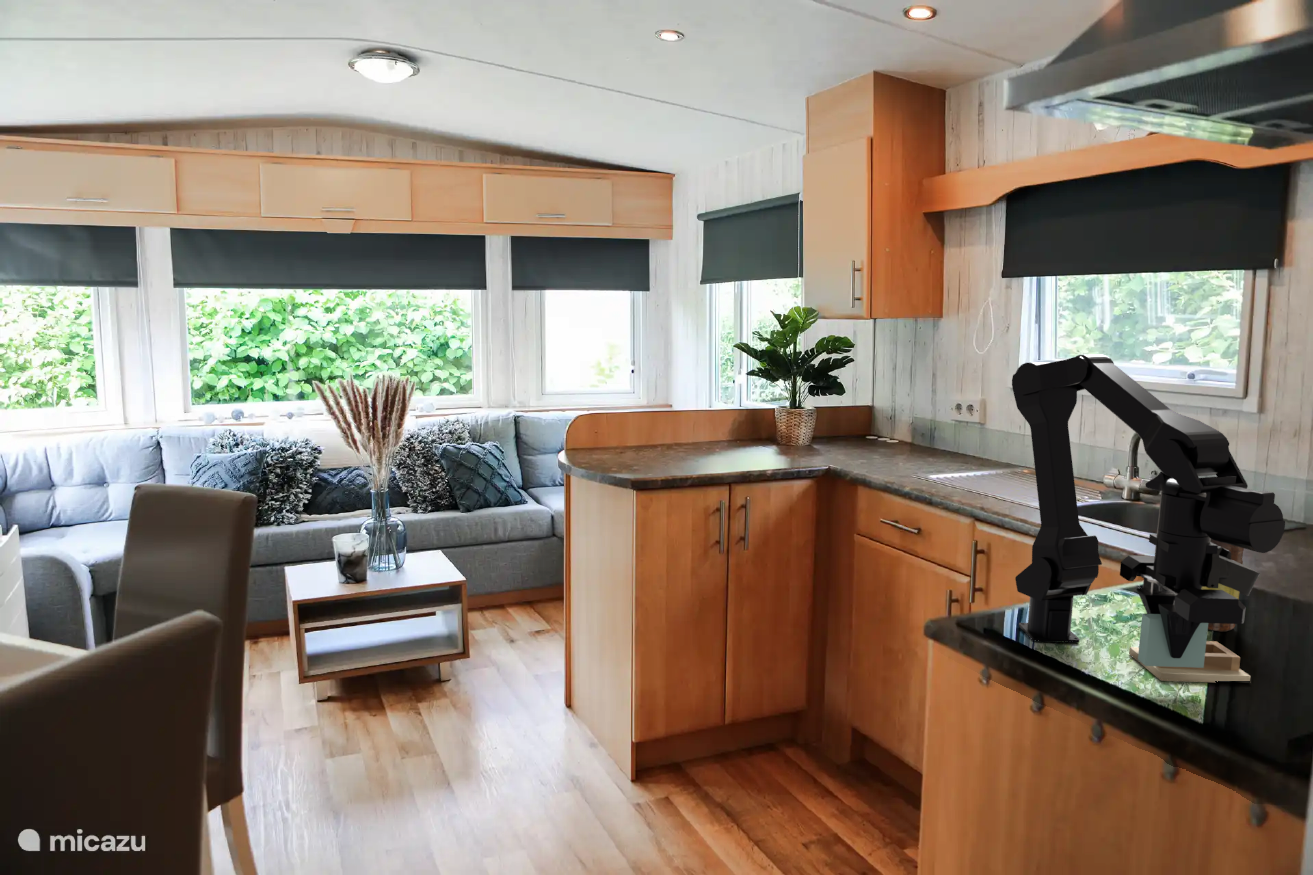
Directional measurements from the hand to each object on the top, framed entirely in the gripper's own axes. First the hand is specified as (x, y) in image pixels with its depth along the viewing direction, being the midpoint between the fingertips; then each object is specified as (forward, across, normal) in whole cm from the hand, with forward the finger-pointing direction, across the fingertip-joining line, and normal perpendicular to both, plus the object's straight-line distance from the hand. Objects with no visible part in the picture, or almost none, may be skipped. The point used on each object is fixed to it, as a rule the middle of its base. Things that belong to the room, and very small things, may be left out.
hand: (1171, 654), depth 116 cm
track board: (+4, +7, -6) cm, 10 cm away
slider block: (+1, 0, 0) cm, 1 cm away
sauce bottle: (+5, +24, -18) cm, 30 cm away
